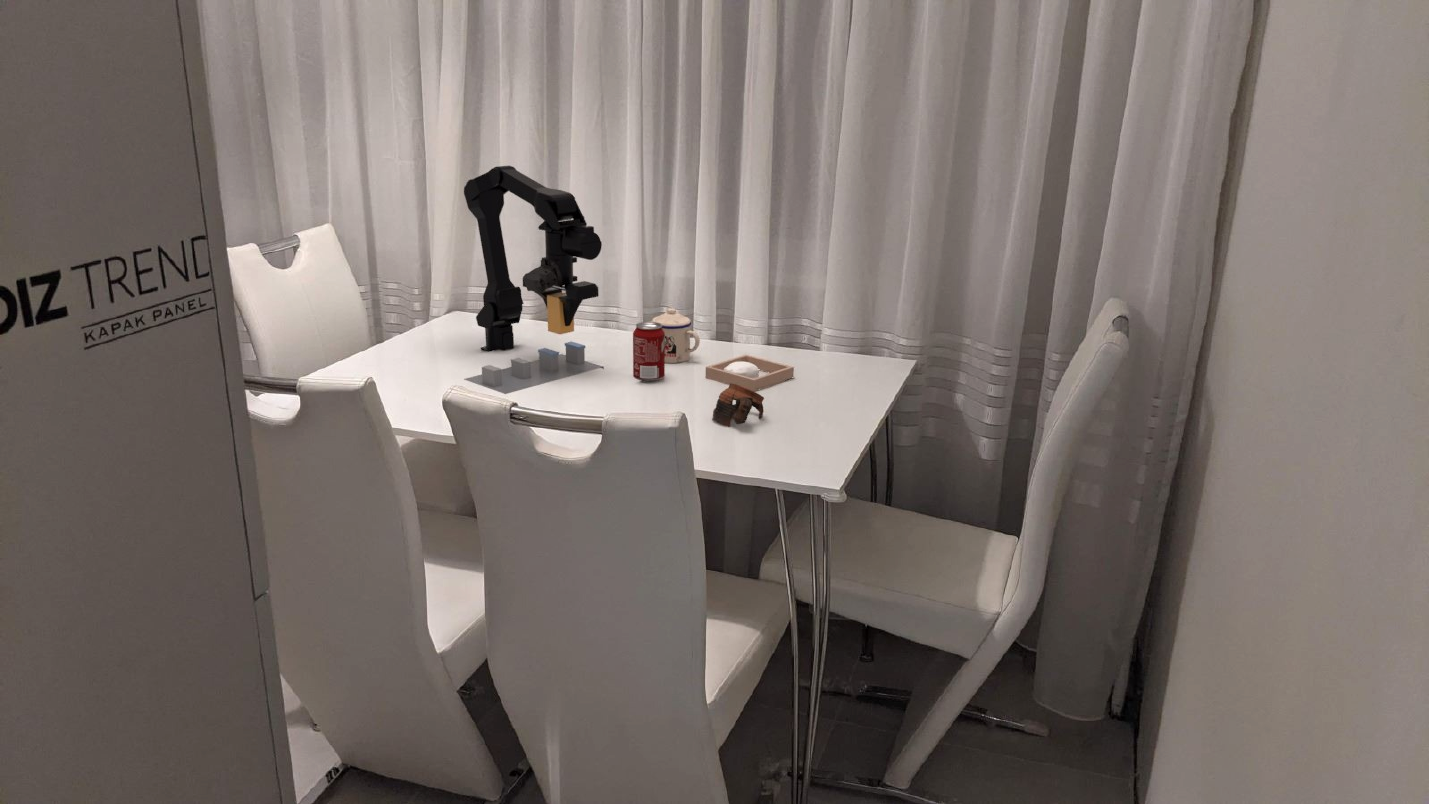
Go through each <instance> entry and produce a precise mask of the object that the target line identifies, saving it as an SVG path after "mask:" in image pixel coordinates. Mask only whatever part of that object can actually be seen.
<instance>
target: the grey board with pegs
mask: <svg viewBox="0 0 1429 804" xmlns="http://www.w3.org/2000/svg"><path fill="white" fill-rule="evenodd" d="M564 346H565V354H564V353H560V352H559V351H556V350H553V349H549V348H546V347H543V348H540V349H537V353H538V359H537V360H533V361H530V360H527V359H524V358H521V357H516V358H512V359H510V367H506V368H500V367H497V366H494V365H491V364H488V365H484V366H481V374H477V375H474V376H471V377H466V378H464V379H463V380H464V381H468V382H470V383H473V384H476V385H479V386H481V387H485V388H487V389H490V390H493V391H496V392H498V393H501V394H504V395H507V394H510V393H515V392H518V391H522V390H525V389H528V388H533V387H536V386H540V385H543V384H546V383H550V382H554V381H557V380H561V379H565V378H569V377H572V376H575V375H579V374H582V373H586V372H590V371H594V370H597V369H603V370H604V369H605V368H604V367H605V366H602V365H600V364H596V363H593V362H590V361H586V360H585V358H586V357H585V355H586V354H585V349H586V345H584V344H581V343H578V342H574V341H572V340H571V341H568V342H564Z"/></svg>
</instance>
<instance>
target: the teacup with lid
mask: <svg viewBox="0 0 1429 804" xmlns="http://www.w3.org/2000/svg"><path fill="white" fill-rule="evenodd" d="M651 322H657V323H660V324H661V325H662V327H661V328H662V329H663V331H664V333H665V364H681V363H685V362H686V361H688V360H690V358H691V353H693V352H695V351H697V349H698V348H699V346H700V341H701V340H700V337H699V335H698V333H697V332H695V331H694V330H691V325H692V321H691V318H689V317H687V316H684V315H682V314H680V313H678V312H677V310H676V308H672V307H670V308H667V309H666V312H664V313H662V314H661V315H658V316H655V317H653V318H652V320H651ZM691 336H692V337H693V338H694V341H695V342H694V346H693V347H692V348H691Z"/></svg>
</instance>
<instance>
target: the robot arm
mask: <svg viewBox="0 0 1429 804" xmlns="http://www.w3.org/2000/svg"><path fill="white" fill-rule="evenodd" d="M508 192H510V193H512V194H514V196H516V197H518V198H520V199H521V200H523V201H524V202H527V204H530V205H531V206H532V207H533V208H534V212H535V214H536V215H537V216H538V217H540V218H541V219H542V220H543V222H542V223H540V225H538V228H537V229H538V230H541V231H545V233H544V236H545V238H544V239H545V256H544V257H541V259H540V266H538V267H535V268H534V269H532V270H530V271H529V272H526V273H525V274H524V275H523V276H522V287H523V288H526V290H527V291H528V292H534V293H535V294H537V295H539V297H541V298H542V300H543V302H544V304H545V307H546V308H547V295H550V294H555V293H560V292H562V293H563V291H564V293H565V296H561V297H558V298H559V300H560V301H561V302H562V303H563V312H564V322H565V326H570V324H571V322H572V320H573V318H574V319H575V315H576V313H577V311H578V309H579V308H580V305H581V303H583V301H584V300H589V299H593V298H597V297H599V295H600V294H599V286H598V285H597V284H596V283H594V282H590V281H585V280H583V281H578V276H577V275H574V264H575V263H578V258H579V259H585V260H589V261H593V260H595V259H596V258H597V257H598V256H599V255H600V253H601V251H602V246H603V244H602V241H601V238H600V236H599V235H598V234H597V233H595V227H594V226H591V225H588V226H587V224H588V223H587V222H586V219H585V216H584V214H583V213H582V211H581V209H580V206H579V205H578V202H577V201H576V197H575V196H574V195H573V194H572V193H571V192H568V191H565V190H562V189H557V188H549V187H546V186H544V185H543V184H541V183H540V182H537V180H534V179H532V178H531V177H529V176H527V175H525V174H524V173H522V172H520V171H519V170H517V169H516V168H515V167H514V166H512V165H501V166H500V165H499V166H495V167H492V168H491V169H490V170H489V171H487V172H485V173H483V174H480V175H478V176H477V177H474V178H470V179H469V180H467V181H466V184H465V186H463V195H464V199H465V202H466V205H467V206H466V207H467V209H468V210H469V212H471V214H472V215H473V216H474V218H475V219H476V221H477V226H478V232H479V239H480V244H481V245H480V246H481V250H482V256H483V262H484V267H485V273H486V274H485V275H486V279H487V284H486V286H485V287H486V288H485V290H484V293H483V297H482V299H483V306H482V308H481V309H480V311H479V312H478V313H477V314H476V316H475V320H476V323H477V326H478V327H480V328H481V327H482V328H483V329H484V330H485V333H484V334H485V346H482V347H480V350H481V351H485V352H487V353H490V352H494V351H498V350H499V351H508V350H513V349H515V341H514V328H513V327H514V326H513V325H514V324H519V323H520V319H521V315H522V312H523V305H524V301H523V297H522V289H521V288H520V286H515V284H514V283H513V282H512V281H511V278H510V273H509V267H508V261H507V254H506V250H505V243H504V238H503V229H502V224H501V213H502V211H503V207H504V206H505V197H504V195H505V194H507V193H508Z"/></svg>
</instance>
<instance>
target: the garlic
mask: <svg viewBox="0 0 1429 804" xmlns="http://www.w3.org/2000/svg"><path fill="white" fill-rule="evenodd" d="M724 371H728V372H731V373H735V374H739V375H742V376H746V377H749V378H753V379H754V378H757V377H760V375H759V373H760V370H758V368H757V366H755V365H754V364H752V363H749V362H742V361H740V362H734V363H731V364H729V365H728V366H727V367H725V368H724Z"/></svg>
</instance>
